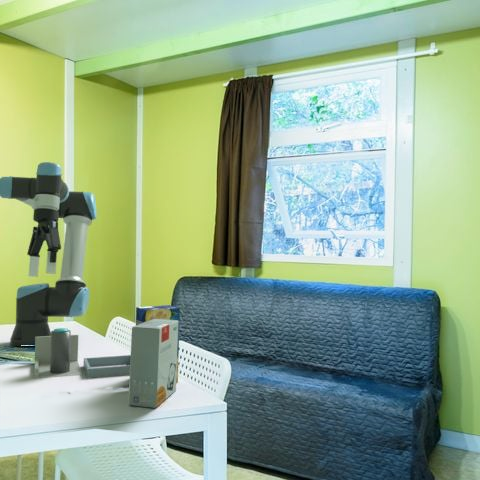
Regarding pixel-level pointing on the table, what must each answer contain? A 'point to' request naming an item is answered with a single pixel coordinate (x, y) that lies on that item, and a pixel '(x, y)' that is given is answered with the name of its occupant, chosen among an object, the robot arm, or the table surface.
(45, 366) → the bay
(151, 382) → the hard drive box
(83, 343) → the table surface
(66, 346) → the bottle
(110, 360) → the tray
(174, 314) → the beverage box
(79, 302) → the robot arm
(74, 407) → the table surface
